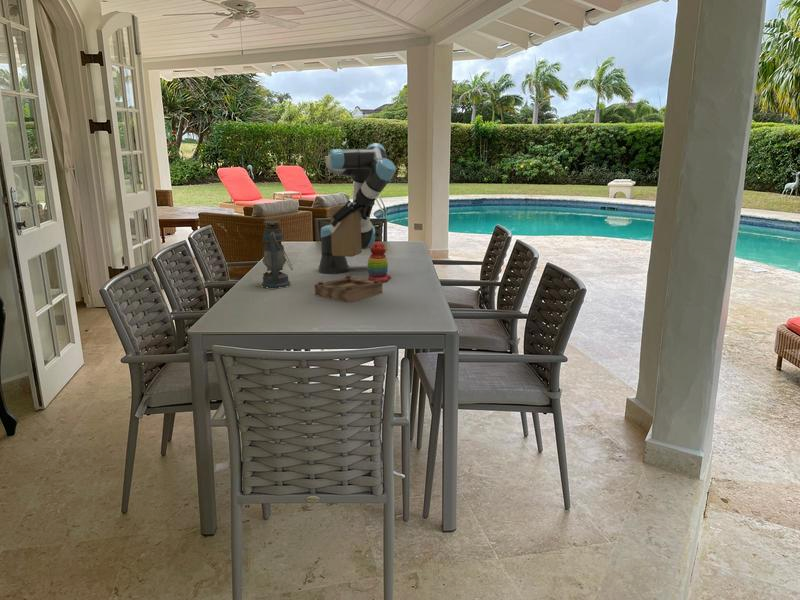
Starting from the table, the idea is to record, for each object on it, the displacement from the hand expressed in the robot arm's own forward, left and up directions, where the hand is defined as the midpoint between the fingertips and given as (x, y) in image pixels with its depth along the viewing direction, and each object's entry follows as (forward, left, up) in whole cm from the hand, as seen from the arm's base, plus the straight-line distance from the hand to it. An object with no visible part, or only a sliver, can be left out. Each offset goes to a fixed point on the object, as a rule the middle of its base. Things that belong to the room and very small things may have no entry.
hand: (342, 229), depth 249 cm
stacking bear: (-7, +29, -28) cm, 40 cm away
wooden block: (+2, 0, -11) cm, 11 cm away
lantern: (-36, -7, -28) cm, 45 cm away
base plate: (+2, 0, -27) cm, 27 cm away
